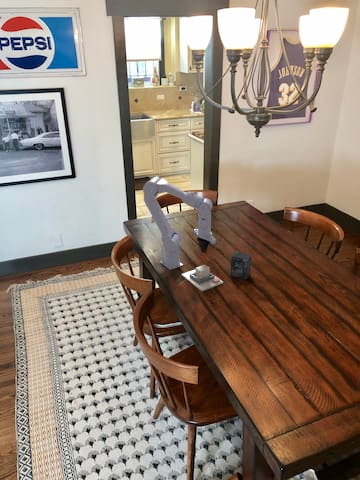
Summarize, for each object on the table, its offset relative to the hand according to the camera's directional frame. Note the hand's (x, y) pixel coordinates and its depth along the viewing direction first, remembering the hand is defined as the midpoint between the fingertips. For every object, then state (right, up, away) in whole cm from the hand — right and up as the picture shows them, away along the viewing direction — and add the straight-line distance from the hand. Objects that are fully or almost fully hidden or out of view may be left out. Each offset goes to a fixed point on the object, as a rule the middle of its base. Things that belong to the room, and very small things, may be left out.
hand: (203, 251), depth 173 cm
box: (+17, -11, -1) cm, 20 cm away
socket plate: (-1, -12, -4) cm, 13 cm away
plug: (-1, -12, -4) cm, 13 cm away
